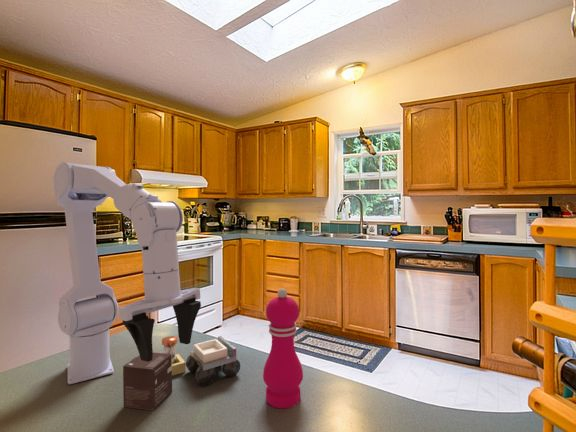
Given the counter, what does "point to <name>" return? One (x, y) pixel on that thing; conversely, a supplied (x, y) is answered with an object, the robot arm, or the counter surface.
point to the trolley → (213, 364)
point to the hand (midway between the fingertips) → (167, 351)
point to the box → (147, 381)
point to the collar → (178, 365)
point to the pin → (170, 347)
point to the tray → (210, 350)
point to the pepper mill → (282, 353)
